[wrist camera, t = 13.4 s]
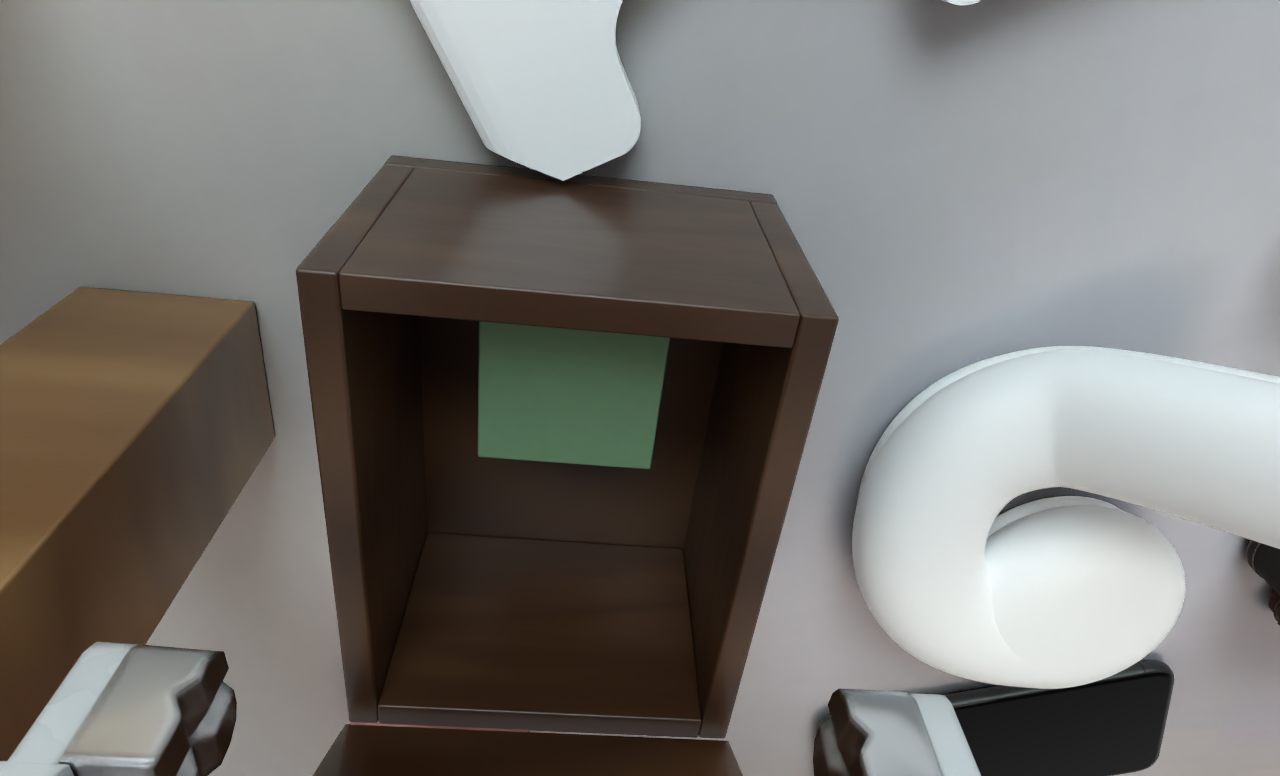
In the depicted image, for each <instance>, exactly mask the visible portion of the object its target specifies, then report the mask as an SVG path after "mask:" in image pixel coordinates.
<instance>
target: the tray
mask: <svg viewBox="0 0 1280 776" xmlns="http://www.w3.org/2000/svg"><path fill="white" fill-rule="evenodd" d="M409 1H410V3H411V5H412V7H413V9H414V11H415V13H416V15H417V17H418V19H419V20H420V22H421V24H422V26H423V28H424V30H425V32H426V34H427V36H428V38H429V40H430V42H431V44H432V46H433V47H434V49H435V51H436V53H437V55H438V57H439V59H440V61H441V63H442V65H443V67H444V69H445V71H446V72H447V74H448V76H449V78H450V80H451V82H452V84H453V86H454V88H455V90H456V92H457V94H458V96H459V98H460V99H461V101H462V103H463V105H464V107H465V109H466V111H467V113H468V115H469V117H470V119H471V121H472V123H473V125H474V126H475V128H476V130H477V132H478V134H479V136H480V138H481V140H482V142H483V144H484V146H485V147H486V148H487V149H489V150H491V151H493V152H495V153H497V154H499V155H501V156H503V157H505V158H507V159H510V160H512V161H514V162H517V163H519V164H522V165H524V166H526V167H529V168H531V169H534V170H537V171H539V172H542V173H544V174H547V175H550V176H552V177H555V178H557V179H560V180H562V181H564V180H566V179H569V178H571V177H573V176H575V175H578V174H580V173H582V172H585V171H587V170H589V169H592V168H594V167H596V166H599V165H601V164H603V163H606V162H608V161H610V160H613V159H615V158H617V157H620V156H622V155H624V154H625V153H627V152H628V151H629V150H630V149H631V148H632V147H633V146H634V145H635V143H636V142H637V140H638V138H639V135H640V130H641V118H640V110H639V105H638V102H637V99H636V97H635V94H634V92H633V89H632V87H631V84H630V82H629V79H628V77H627V74H626V72H625V70H624V67H623V65H622V62H621V59H620V57H619V54H618V50H617V45H616V38H615V31H616V22H617V17H618V13H619V10H620V6H621V4H622V1H623V0H409ZM942 1H945V2H949V3H952V4H955V5H970V4H974V3H977V2H979V1H981V0H942Z"/></svg>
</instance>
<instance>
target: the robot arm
mask: <svg viewBox="0 0 1280 776" xmlns="http://www.w3.org/2000/svg"><path fill="white" fill-rule="evenodd" d="M228 669H229V667H228V664H227V661H226V657H225V654H224V652H222V651H210V650H198V649H186V648H174V647H162V646H150V645H141V644H126V643H111V642H95V643H94V644H93V645H92V646H90V647H89V648H88V649H87V650H85V651H84V652H83V653H82V654H81V656H80V657H79V659H78V660H77V661H76V663H75V664H74V666H73V667H72V669H71V670H70V671H69V673H68V674H67V676H66V677H65V679H64V680H63V682H62V683H61V684H60V686H59V687H58V689H57V690H56V692H55V693H54V694H53V696H52V697H51V699H50V700H49V702H48V703H47V705H46V706H45V707H44V709H43V710H42V712H41V713H40V715H39V716H38V717H37V719H36V720H35V722H34V723H33V725H32V726H31V728H30V729H29V730H28V732H27V733H26V735H25V736H24V738H23V739H22V741H21V742H20V743H19V745H18V746H17V748H16V749H15V751H14V752H13V753H12V755H11V756H10V758H9V759H8V761H0V776H207V775H209V774H210V773H211V772H212V771H214V770H215V769H216V768H217V767H219V766H220V765H221V763H222V761H223V759H224V756H225V754H226V752H227V749H228V747H229V745H230V742H231V738H232V734H233V730H234V726H235V722H236V704H237V702H236V698H235V693H234V690H233V689H232V688H231V687H229V686H228V685H227V684H226V683H224V682H223V679H224V677H225V675H226V673H227V671H228ZM828 707H829V711H830V715H831V718H830V719H828V720H826V721H825V722H823V723H822V724H820V726H819V729H818V732H817V734H816V737H815V740H814V753H813V765H814V776H981V774H980V772H979V769H978V767H977V764H976V762H975V759H974V757H973V755H972V752H971V750H970V747H969V745H968V742H967V740H966V737H965V735H964V733H963V730H962V728H961V725H960V723H959V720H958V718H957V715H956V713H955V711H954V708H953V706H952V703H951V702H950V701H949V700H948V699H947V698H946V696H943V695H935V694H913V693H906V692H897V691H876V690H854V689H838V690H836V691H835V692H834V693H833V694H832V696H831V699H830V701H829V703H828Z"/></svg>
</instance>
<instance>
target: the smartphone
mask: <svg viewBox="0 0 1280 776" xmlns="http://www.w3.org/2000/svg"><path fill="white" fill-rule="evenodd" d="M1173 684H1174V675H1173V672H1172V670H1171V669H1170V667H1169V666H1168V665H1166V664H1165V663H1163V662H1161V661H1156V660H1147V661H1139V662H1137V663H1135V664H1134V665H1132V666H1130V667H1128V668H1127V669H1125V670H1123V671H1121V672H1119V673H1117V674H1114V675H1112V676H1110V677H1107V678H1105V679H1102V680H1099V681H1096V682H1092V683H1089V684H1085V685H1080V686H1075V687H1069V688H1059V689H1038V688H1024V687H1013V686H1003V685H999V686H994V687H988V688H982V689H976V690H970V691H965V692H959V693H953V694H947V695H943V696H946V698H947V699H948V700H949V701H950V702H951V703H952V706H953V708H954V711H955V713H956V715H957V718H958V720H959V723H960V725H961V728H962V730H963V733H964V735H965V737H966V740H967V742H968V745H969V747H970V750H971V752H972V755H973V757H974V759H975V762H976V764H977V767H978V769H979V772H980V774H981V776H1113V775H1119V774H1125V773H1131V772H1137V771H1141V770H1144V769H1146V768H1148V767H1150V766H1152V765H1153V764H1154V763H1155V762H1156V760H1157V759H1158V757H1159V753H1160V748H1161V744H1162V739H1163V734H1164V729H1165V724H1166V719H1167V714H1168V709H1169V704H1170V700H1171V694H1172V689H1173ZM830 718H831V715H830V716H828V717H826V718H824V719H823V720H822V721H821V722H820V723H819V724H818V727H817V730H816V734H817V732H818V729H819V726H820V724H822V723H823V722H825V721H826V720H828V719H830Z"/></svg>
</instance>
